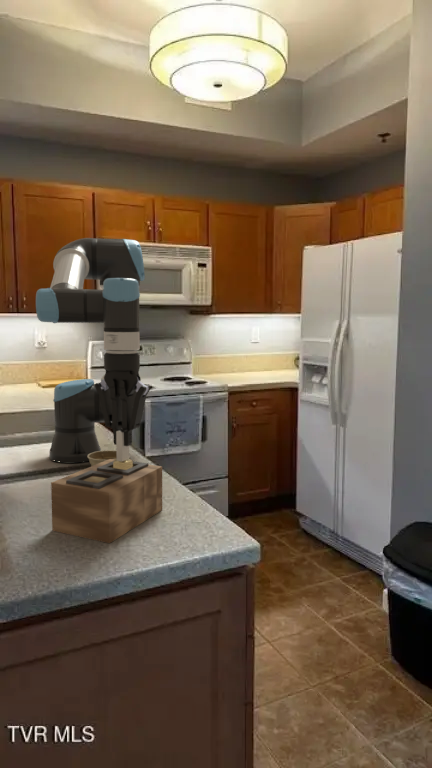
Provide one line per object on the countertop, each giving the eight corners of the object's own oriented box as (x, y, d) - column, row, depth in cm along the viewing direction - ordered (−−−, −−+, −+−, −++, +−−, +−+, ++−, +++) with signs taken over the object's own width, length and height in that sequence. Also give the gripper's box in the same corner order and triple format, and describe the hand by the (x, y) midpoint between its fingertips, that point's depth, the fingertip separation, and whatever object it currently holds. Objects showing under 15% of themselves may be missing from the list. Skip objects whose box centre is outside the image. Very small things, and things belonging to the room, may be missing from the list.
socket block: (110, 500, 129) (110, 456, 128) (162, 509, 123) (162, 463, 122) (52, 530, 111) (50, 479, 110) (109, 543, 105) (108, 489, 104)
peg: (120, 492, 124) (120, 457, 123) (136, 495, 122) (136, 459, 121) (109, 498, 120) (109, 461, 119) (126, 501, 118) (125, 464, 117)
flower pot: (80, 488, 138) (79, 454, 136) (111, 480, 144) (110, 448, 143) (102, 497, 131) (102, 462, 130) (133, 488, 138) (133, 454, 137)
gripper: (85, 351, 116) (87, 460, 119) (138, 354, 111) (139, 467, 114) (107, 349, 123) (108, 452, 126) (157, 352, 118) (157, 459, 121)
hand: (122, 459), depth 120 cm, fingers closed
